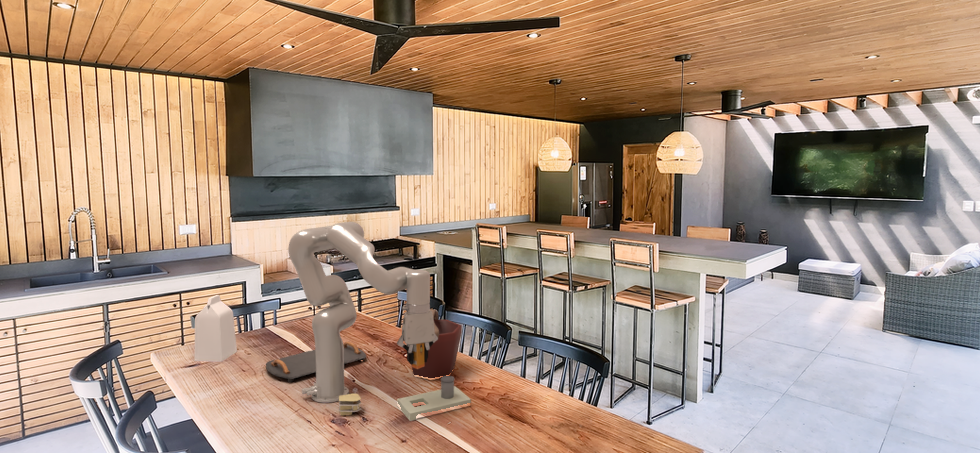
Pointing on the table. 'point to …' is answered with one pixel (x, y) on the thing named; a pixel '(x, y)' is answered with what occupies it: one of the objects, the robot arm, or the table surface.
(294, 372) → the serving board
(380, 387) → the table surface
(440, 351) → the bucket
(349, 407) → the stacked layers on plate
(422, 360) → the supplement box
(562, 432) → the table surface
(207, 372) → the table surface
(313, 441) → the table surface
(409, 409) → the caddy
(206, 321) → the milk
